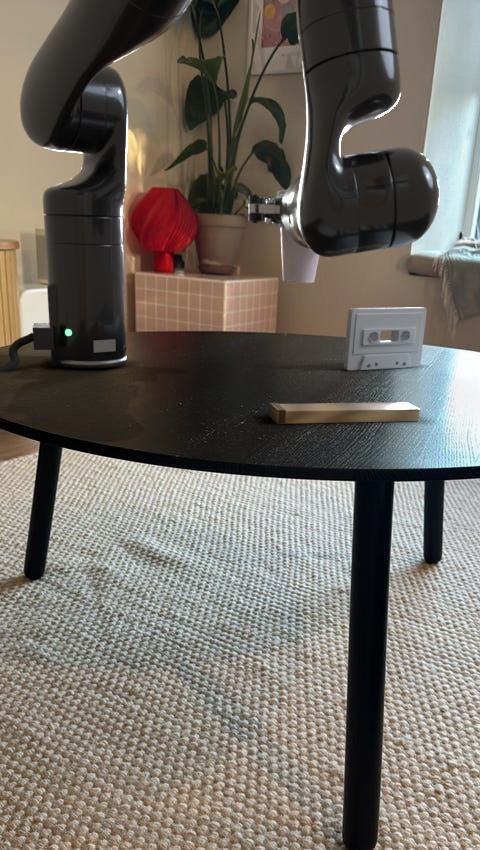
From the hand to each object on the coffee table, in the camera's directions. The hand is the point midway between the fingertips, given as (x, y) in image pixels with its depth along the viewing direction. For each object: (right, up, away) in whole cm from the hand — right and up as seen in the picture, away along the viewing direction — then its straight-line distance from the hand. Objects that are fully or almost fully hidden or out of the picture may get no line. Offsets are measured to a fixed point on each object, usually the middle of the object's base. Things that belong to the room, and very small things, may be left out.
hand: (298, 213), depth 88 cm
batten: (+3, -26, -16) cm, 31 cm away
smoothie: (0, -8, 0) cm, 8 cm away
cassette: (+12, -16, +11) cm, 23 cm away
